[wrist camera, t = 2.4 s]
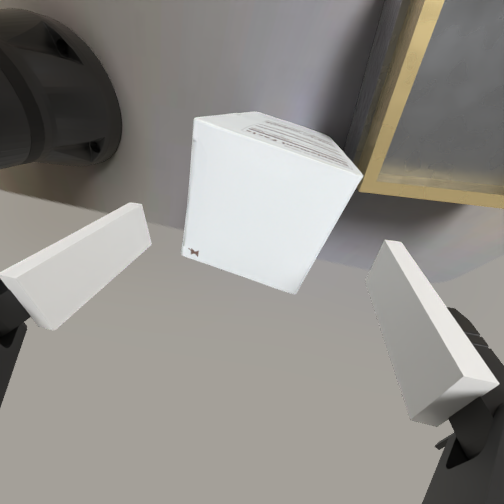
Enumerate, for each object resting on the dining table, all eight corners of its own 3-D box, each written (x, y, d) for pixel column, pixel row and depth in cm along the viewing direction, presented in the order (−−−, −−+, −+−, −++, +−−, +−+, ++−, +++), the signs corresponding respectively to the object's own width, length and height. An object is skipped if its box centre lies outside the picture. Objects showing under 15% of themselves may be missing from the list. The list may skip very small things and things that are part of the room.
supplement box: (300, 210, 30) (295, 301, 16) (236, 188, 30) (177, 260, 16) (333, 134, 24) (370, 174, 10) (254, 107, 24) (188, 112, 10)
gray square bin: (338, 170, 26) (351, 196, 19) (396, -43, 17) (466, -156, 10) (488, 186, 24) (570, 223, 16) (649, -49, 15) (989, -200, 7)
